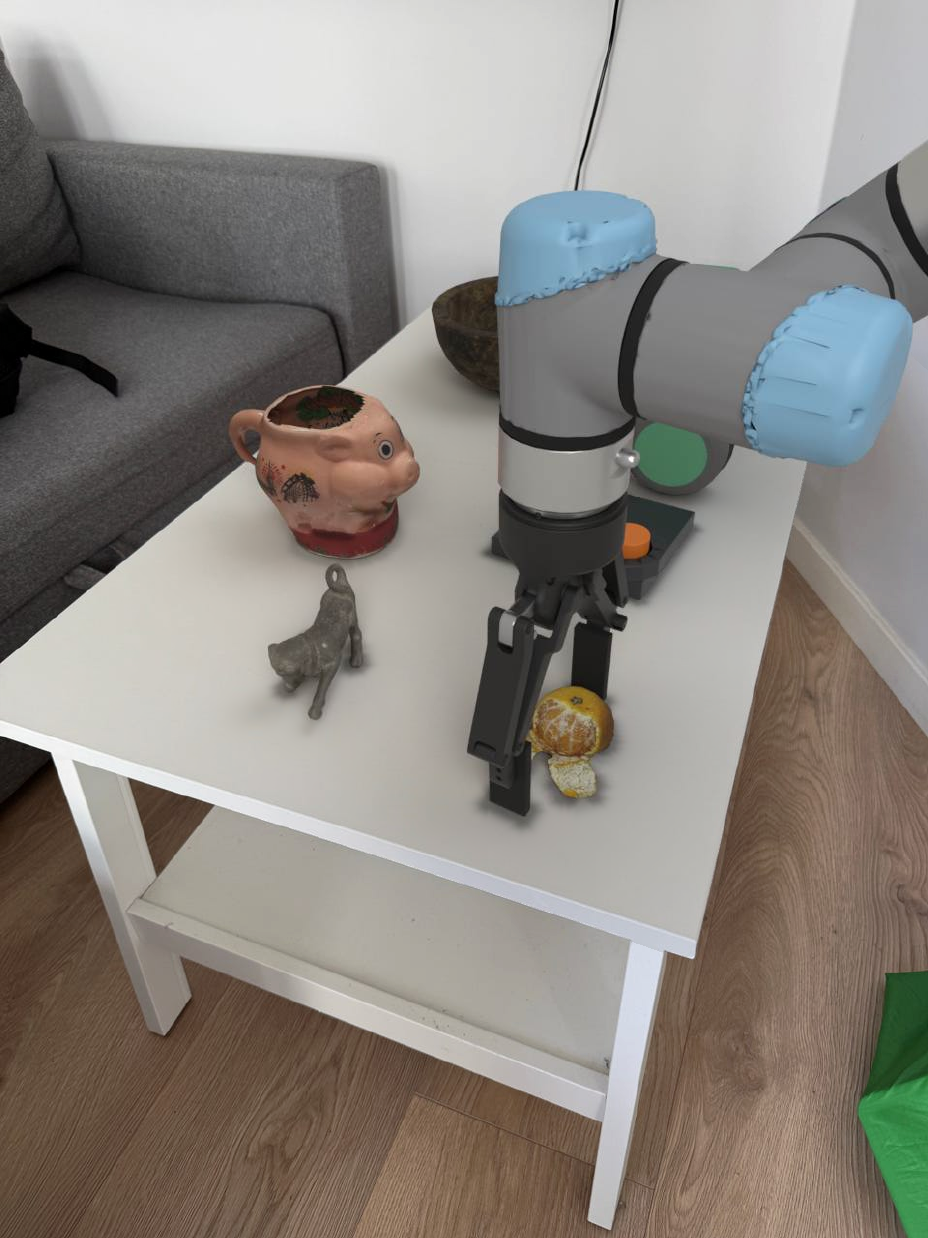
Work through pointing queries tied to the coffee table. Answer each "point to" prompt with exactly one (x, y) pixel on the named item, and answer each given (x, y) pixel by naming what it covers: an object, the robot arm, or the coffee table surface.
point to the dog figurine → (321, 641)
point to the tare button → (635, 541)
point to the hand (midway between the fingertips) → (551, 746)
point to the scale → (665, 539)
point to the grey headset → (677, 455)
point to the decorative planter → (331, 467)
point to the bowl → (470, 330)
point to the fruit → (572, 736)
